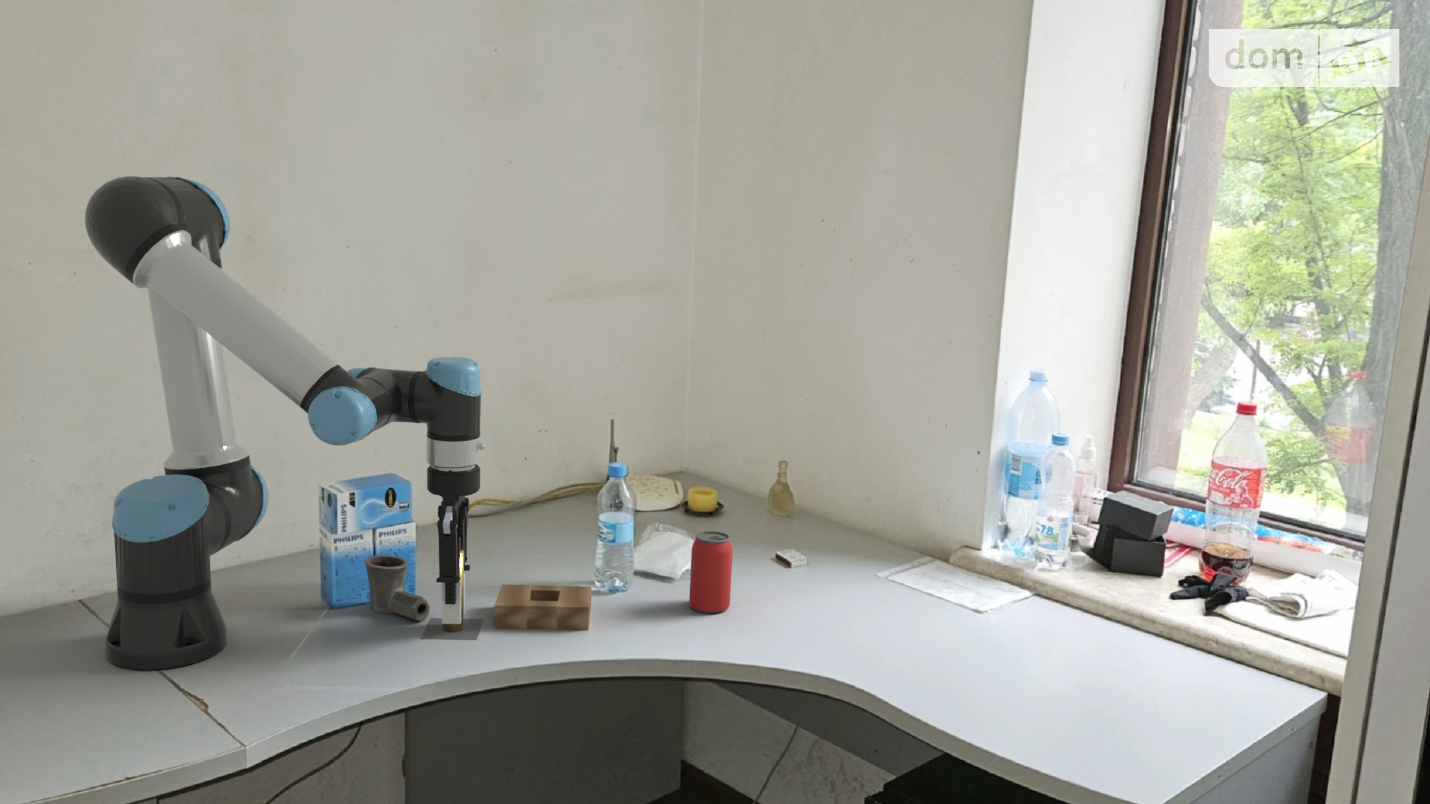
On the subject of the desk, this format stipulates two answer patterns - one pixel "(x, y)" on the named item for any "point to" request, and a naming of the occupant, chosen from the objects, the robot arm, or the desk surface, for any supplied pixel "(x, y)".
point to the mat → (468, 633)
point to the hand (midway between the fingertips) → (453, 618)
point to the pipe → (393, 588)
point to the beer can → (711, 572)
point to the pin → (460, 626)
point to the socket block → (543, 607)
